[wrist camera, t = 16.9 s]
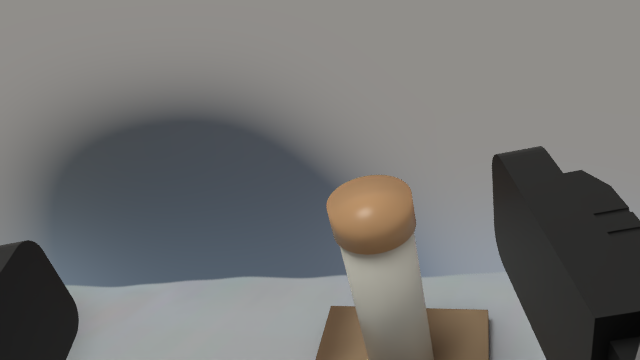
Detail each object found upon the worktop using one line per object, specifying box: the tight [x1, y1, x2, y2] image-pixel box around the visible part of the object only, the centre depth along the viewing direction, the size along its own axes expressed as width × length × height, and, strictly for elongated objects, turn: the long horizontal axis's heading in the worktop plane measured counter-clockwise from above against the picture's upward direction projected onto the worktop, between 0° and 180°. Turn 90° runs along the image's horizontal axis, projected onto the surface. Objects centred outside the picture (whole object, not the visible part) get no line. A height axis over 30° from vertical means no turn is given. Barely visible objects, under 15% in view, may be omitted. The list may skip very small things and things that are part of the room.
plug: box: [327, 175, 434, 360], centre depth 35 cm, size 5×5×14 cm
